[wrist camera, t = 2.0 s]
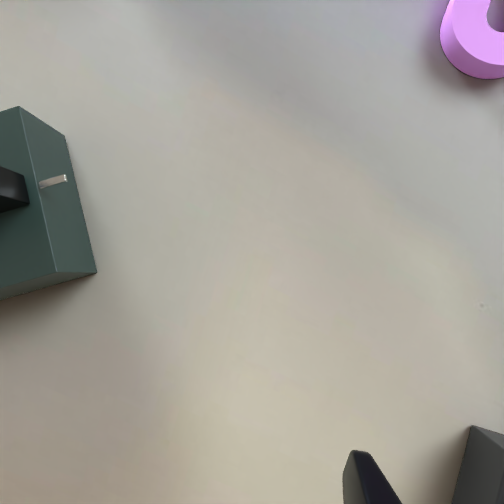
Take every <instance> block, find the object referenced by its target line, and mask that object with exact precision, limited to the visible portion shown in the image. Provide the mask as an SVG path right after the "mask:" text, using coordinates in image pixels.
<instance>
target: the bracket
mask: <svg viewBox="0 0 504 504" xmlns="http://www.w3.org/2000/svg"><path fill="white" fill-rule="evenodd" d="M490 3H491V0H450V2H449V4H448V7H447V9H446V12H445V15H444V17H443V20H442V23H441V28H440V40H441V45H442V48H443V51H444V53H445V55H446V57H447V58H448V60H449V61H450V62H451V63H452V64H453V65H454V66H455V67H456V68H457V69H459V70H460V71H462V72H463V73H465V74H467V75H470V76H473V77H476V78H481V79H497V78H502V77H504V32H498V31H495V30H494V29H492V28H491V27H490V26H489V24H488V22H487V19H486V14H487V11H488V8H489V5H490Z"/></svg>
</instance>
